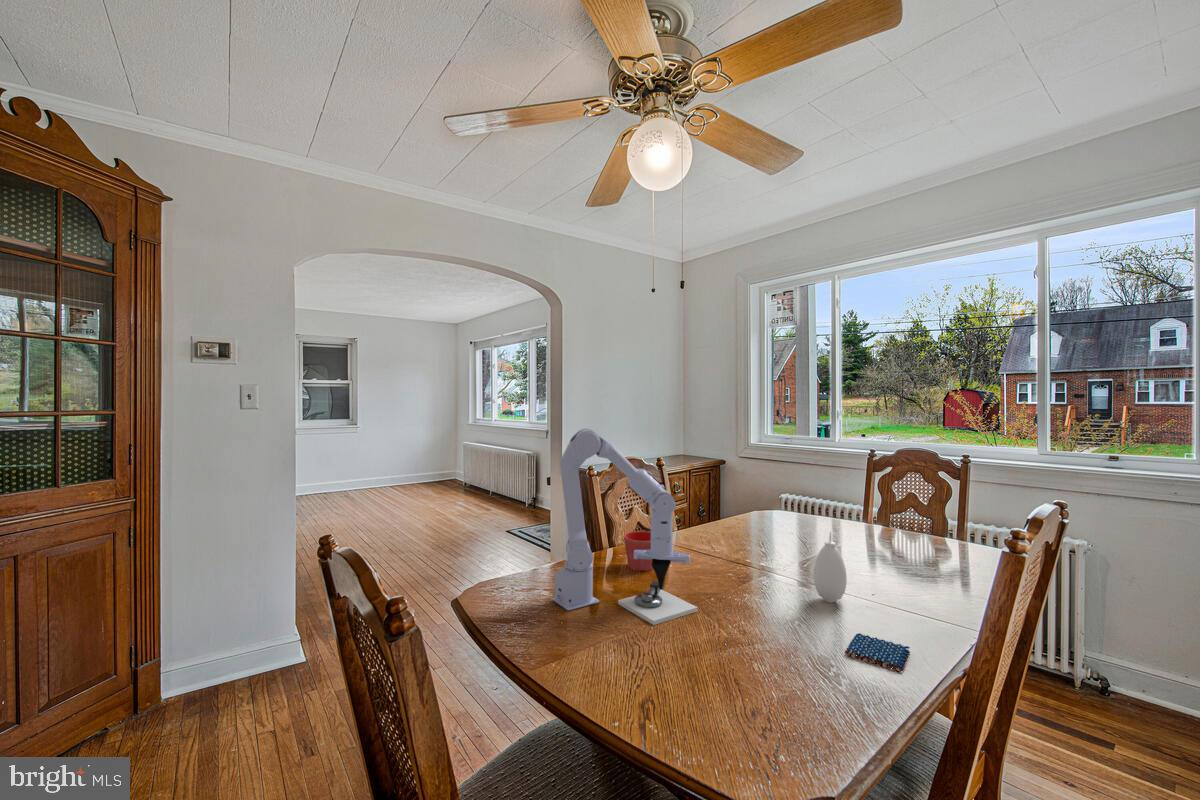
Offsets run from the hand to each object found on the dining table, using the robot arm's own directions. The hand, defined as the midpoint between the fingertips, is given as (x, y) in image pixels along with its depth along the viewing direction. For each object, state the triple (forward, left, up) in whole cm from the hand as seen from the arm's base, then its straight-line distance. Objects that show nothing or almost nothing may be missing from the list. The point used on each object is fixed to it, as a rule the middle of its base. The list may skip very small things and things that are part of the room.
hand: (661, 588), depth 132 cm
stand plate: (-5, -4, -3) cm, 7 cm away
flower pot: (+11, +22, -3) cm, 25 cm away
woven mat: (+19, -46, -3) cm, 50 cm away
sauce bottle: (+36, -25, -3) cm, 44 cm away
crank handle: (-4, -1, -1) cm, 5 cm away
